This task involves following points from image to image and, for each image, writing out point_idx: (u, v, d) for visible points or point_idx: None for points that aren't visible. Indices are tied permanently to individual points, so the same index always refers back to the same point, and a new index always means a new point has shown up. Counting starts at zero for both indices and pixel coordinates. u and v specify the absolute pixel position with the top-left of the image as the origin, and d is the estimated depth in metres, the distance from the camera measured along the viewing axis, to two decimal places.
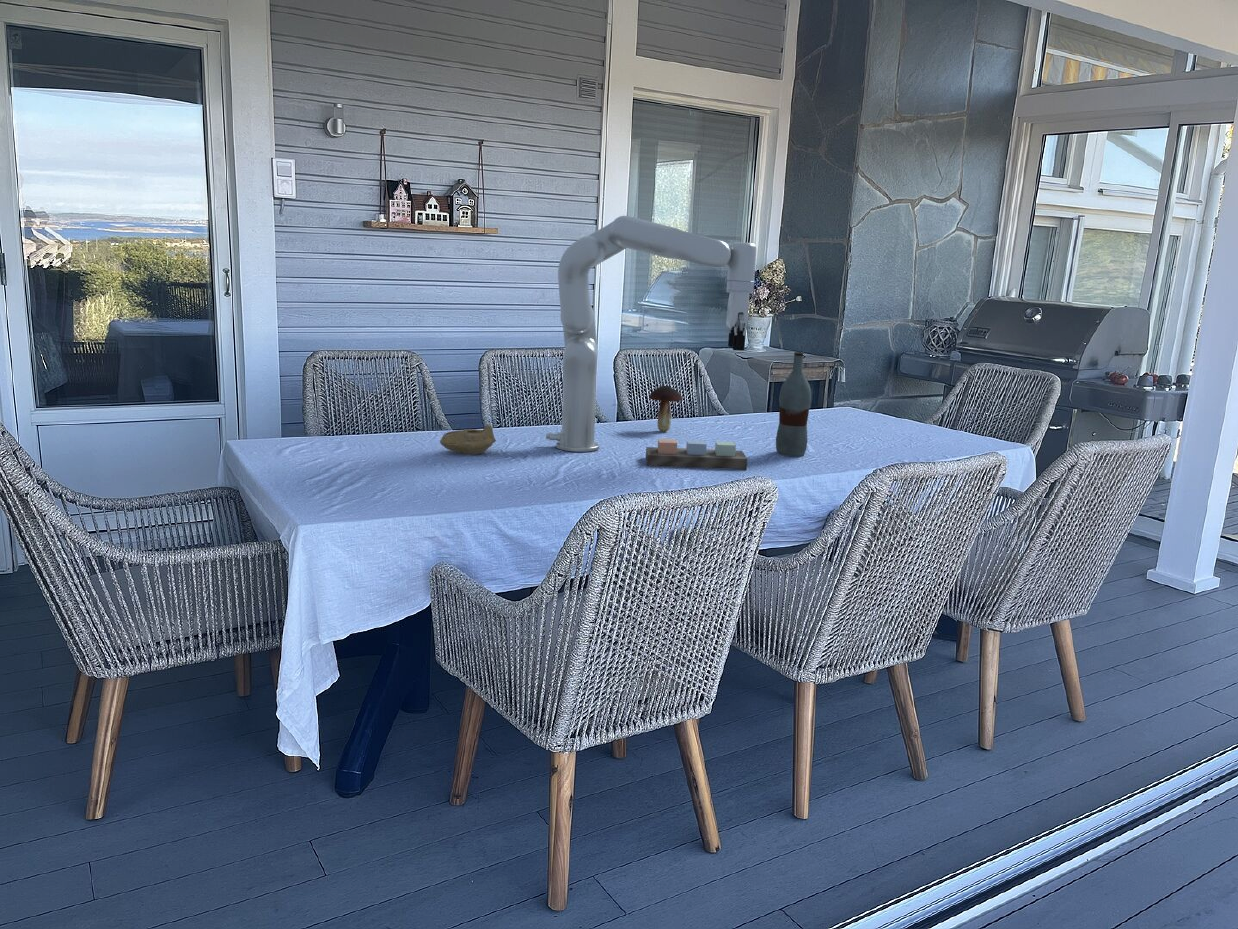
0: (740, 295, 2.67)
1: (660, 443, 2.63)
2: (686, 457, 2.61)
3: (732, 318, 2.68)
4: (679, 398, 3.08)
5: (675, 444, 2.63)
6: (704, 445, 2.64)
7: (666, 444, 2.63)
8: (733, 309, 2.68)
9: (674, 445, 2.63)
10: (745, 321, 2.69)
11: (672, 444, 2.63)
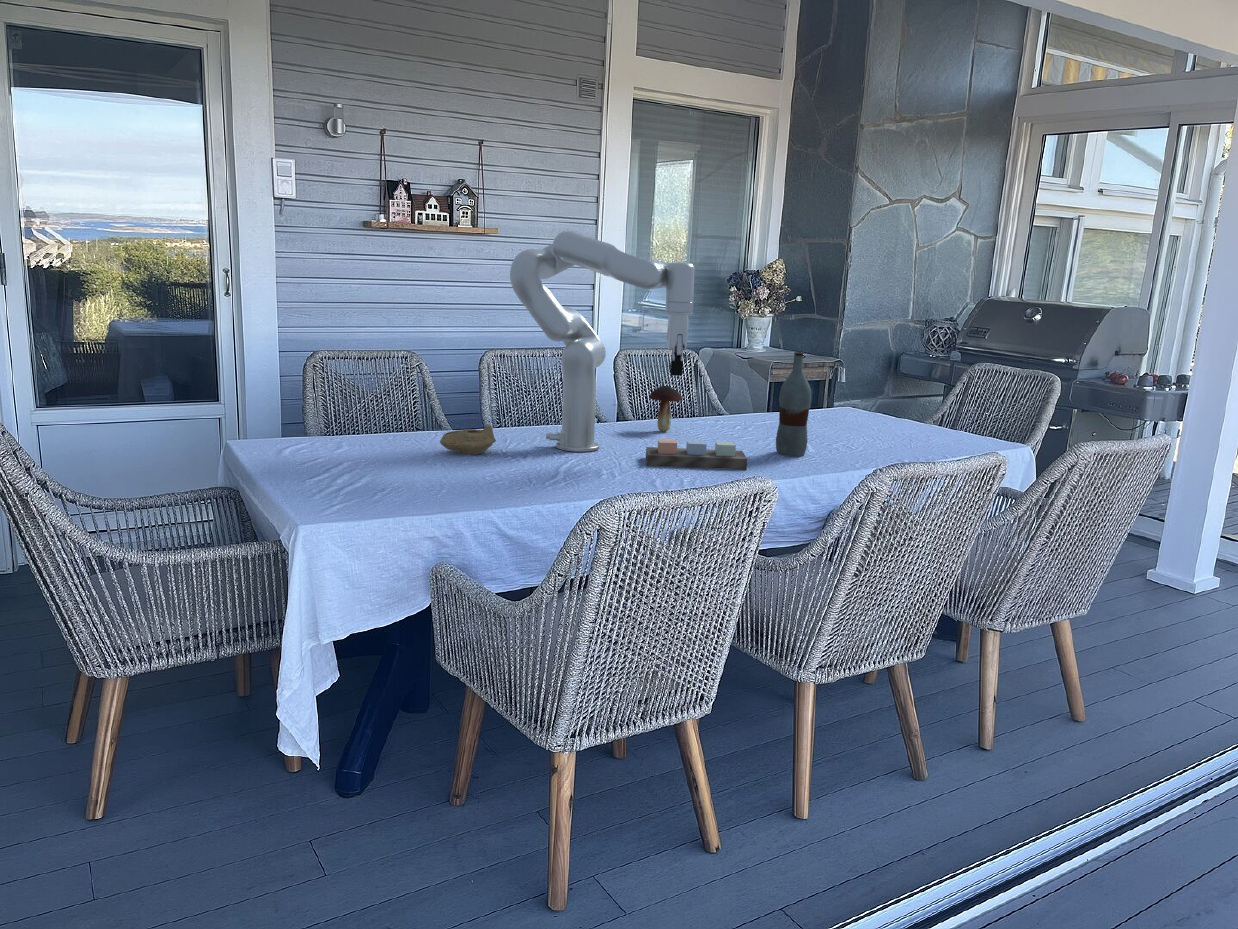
0: (679, 316, 2.61)
1: (660, 443, 2.63)
2: (686, 457, 2.61)
3: (671, 340, 2.62)
4: (679, 398, 3.08)
5: (675, 444, 2.63)
6: (704, 445, 2.64)
7: (666, 444, 2.63)
8: (672, 331, 2.61)
9: (674, 445, 2.63)
10: (684, 343, 2.62)
11: (672, 444, 2.63)
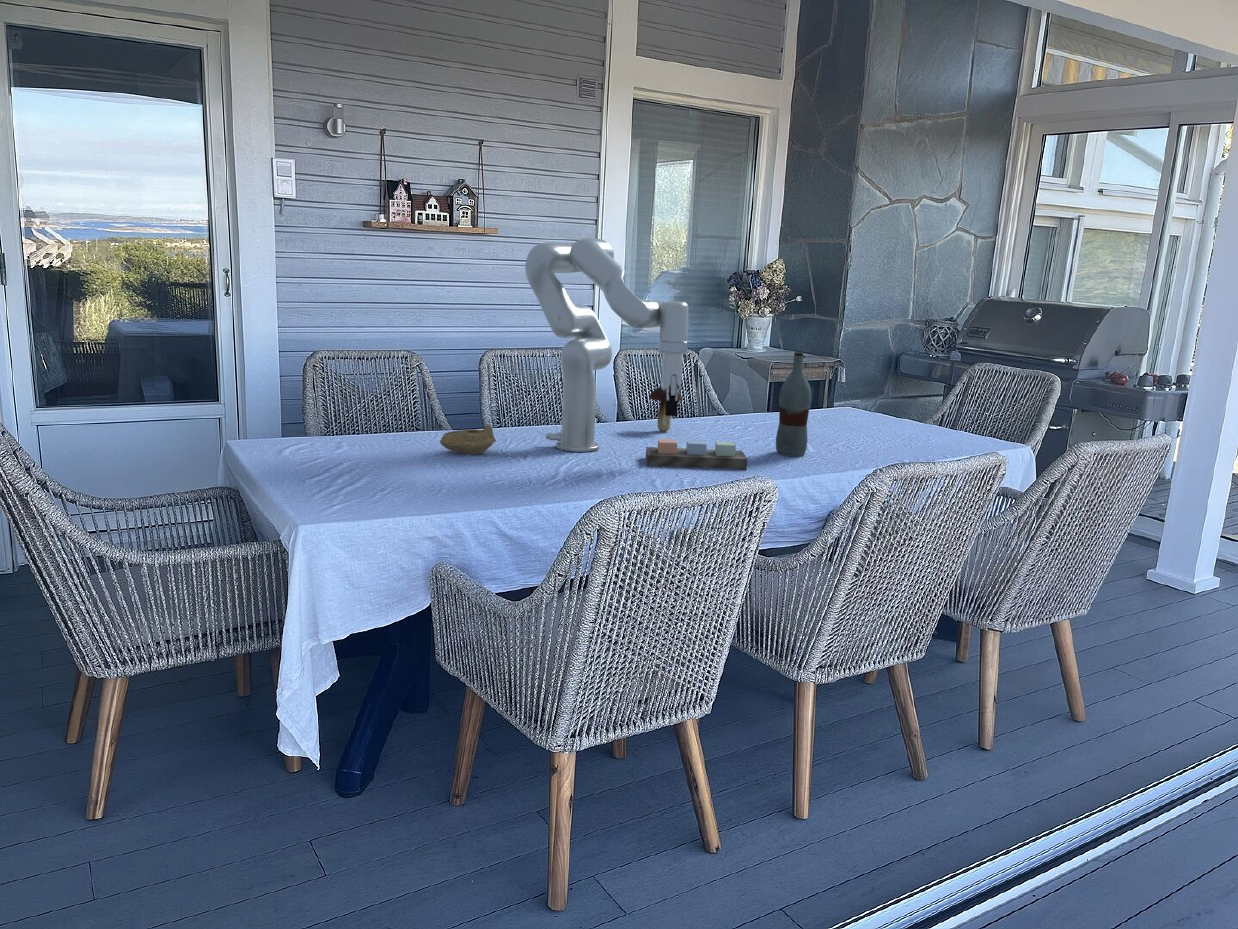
0: (673, 356, 2.56)
1: (660, 443, 2.63)
2: (686, 457, 2.61)
3: (665, 381, 2.57)
4: (679, 398, 3.08)
5: (675, 444, 2.63)
6: (704, 445, 2.64)
7: (666, 444, 2.63)
8: (665, 371, 2.57)
9: (674, 445, 2.63)
10: (678, 383, 2.57)
11: (672, 444, 2.63)
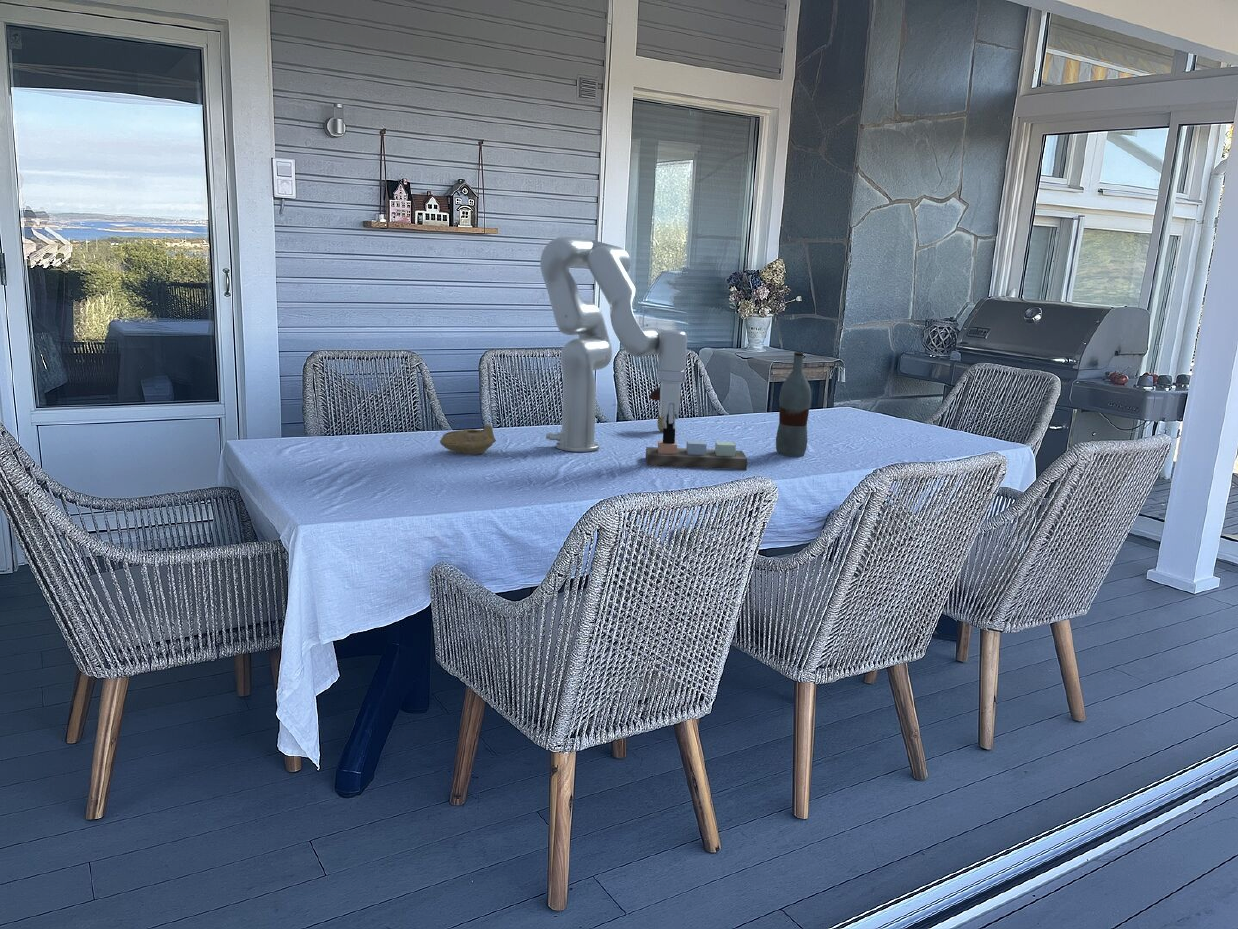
0: (671, 385, 2.58)
1: (660, 445, 2.63)
2: (686, 457, 2.61)
3: (663, 409, 2.59)
4: None
5: (675, 446, 2.63)
6: (704, 445, 2.64)
7: (666, 446, 2.63)
8: (663, 400, 2.58)
9: (674, 447, 2.64)
10: (676, 412, 2.59)
11: (672, 446, 2.63)
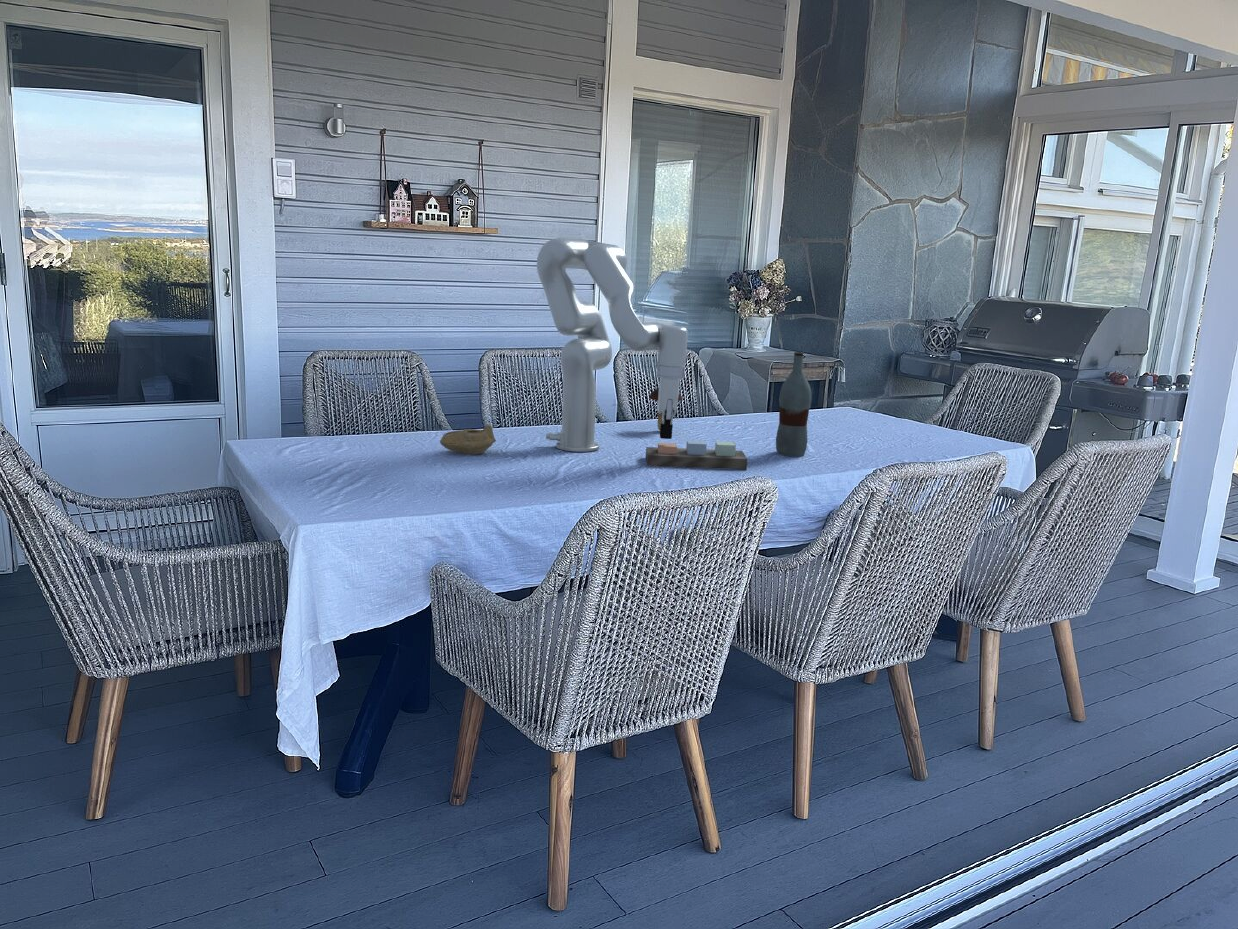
0: (670, 381, 2.58)
1: (660, 447, 2.63)
2: (686, 457, 2.61)
3: (661, 405, 2.59)
4: (679, 398, 3.08)
5: (675, 448, 2.64)
6: (704, 445, 2.64)
7: (666, 448, 2.64)
8: (662, 395, 2.58)
9: (674, 449, 2.64)
10: (674, 408, 2.59)
11: (672, 448, 2.64)
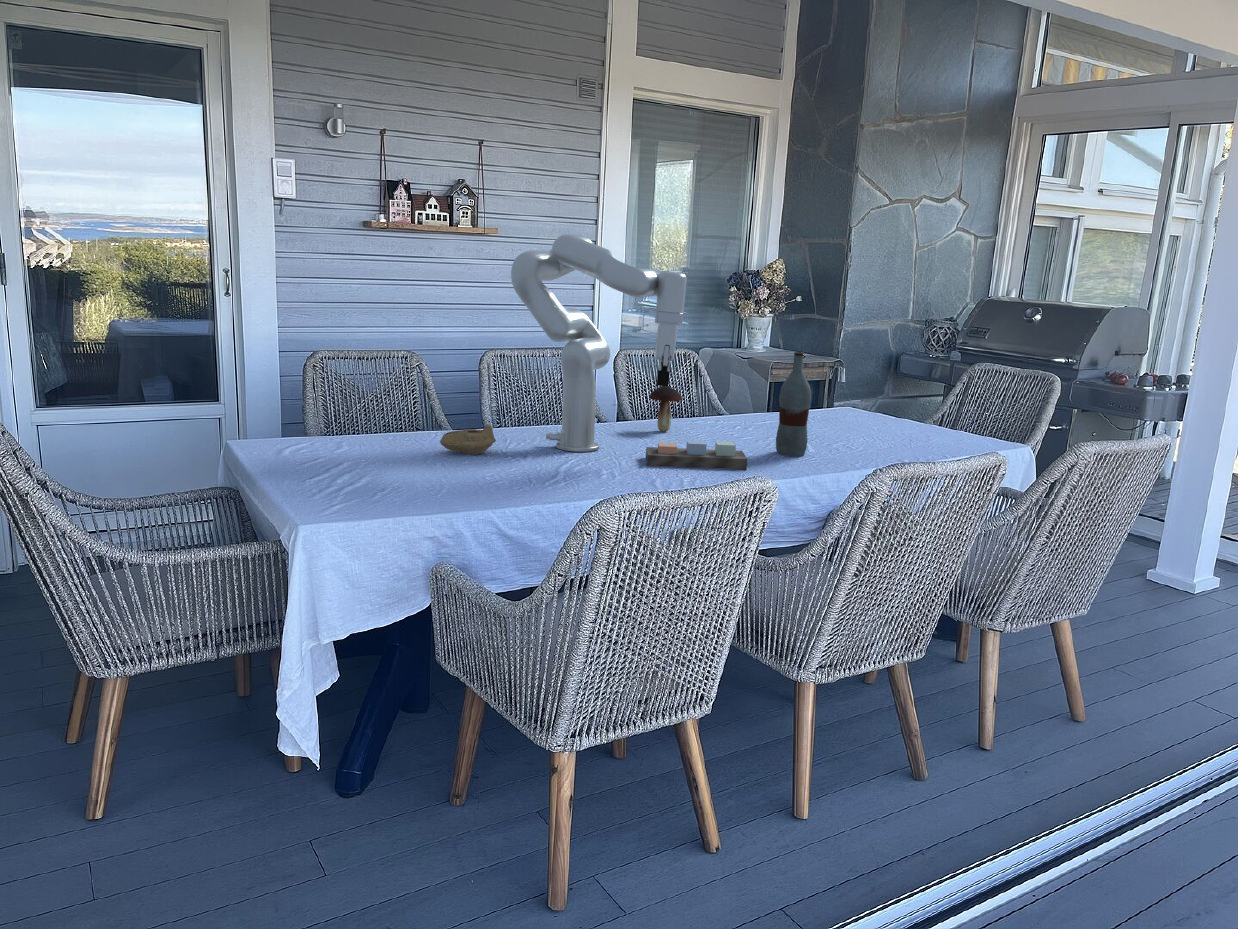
0: (667, 327, 2.58)
1: (660, 447, 2.63)
2: (686, 457, 2.61)
3: (658, 350, 2.59)
4: (679, 398, 3.08)
5: (675, 448, 2.64)
6: (704, 445, 2.64)
7: (666, 448, 2.64)
8: (659, 341, 2.58)
9: (674, 449, 2.64)
10: (671, 354, 2.59)
11: (672, 448, 2.64)
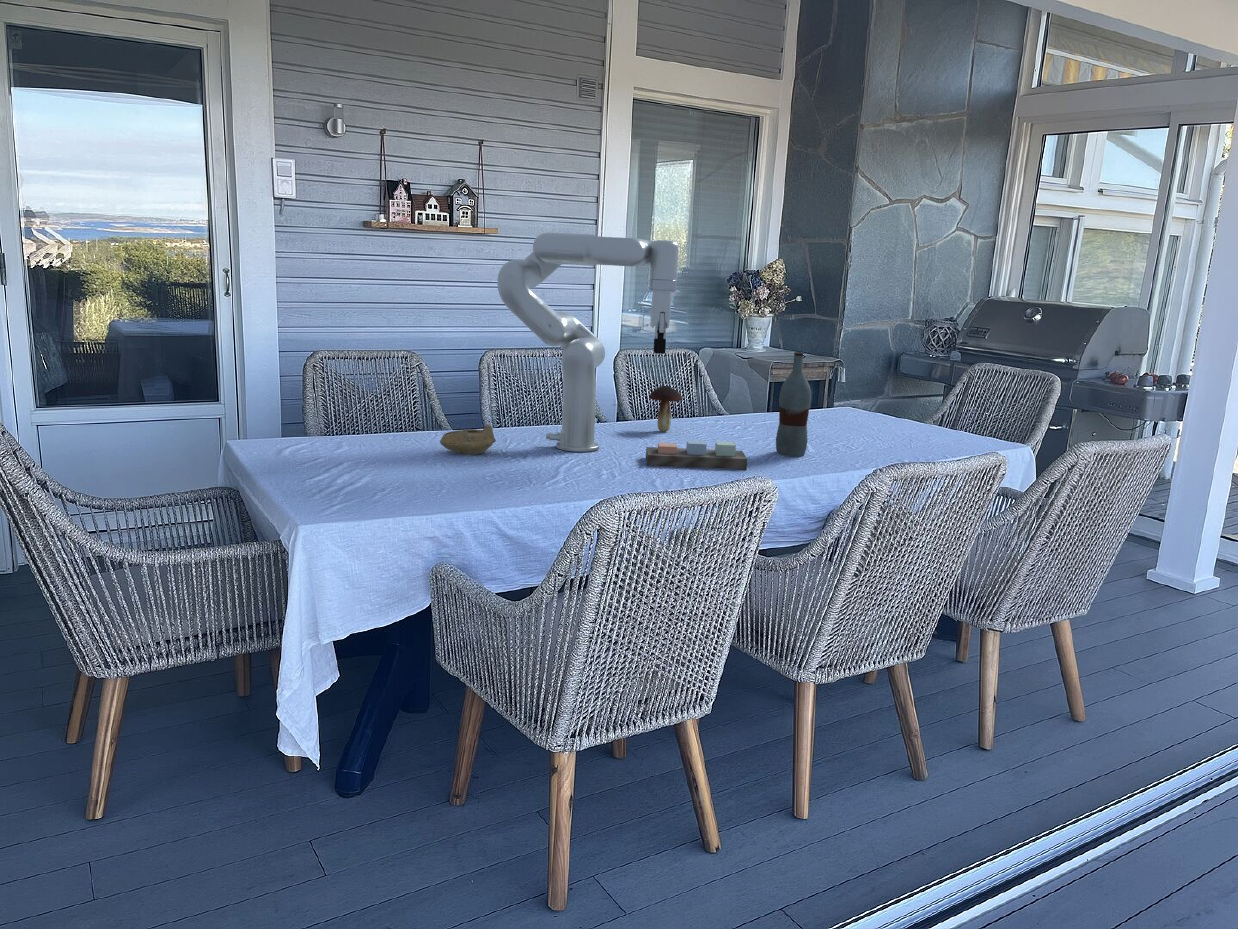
0: (662, 294, 2.61)
1: (660, 447, 2.63)
2: (686, 457, 2.61)
3: (653, 318, 2.62)
4: (679, 398, 3.08)
5: (675, 448, 2.64)
6: (704, 445, 2.64)
7: (666, 448, 2.64)
8: (654, 308, 2.62)
9: (674, 449, 2.64)
10: (667, 321, 2.63)
11: (672, 448, 2.64)
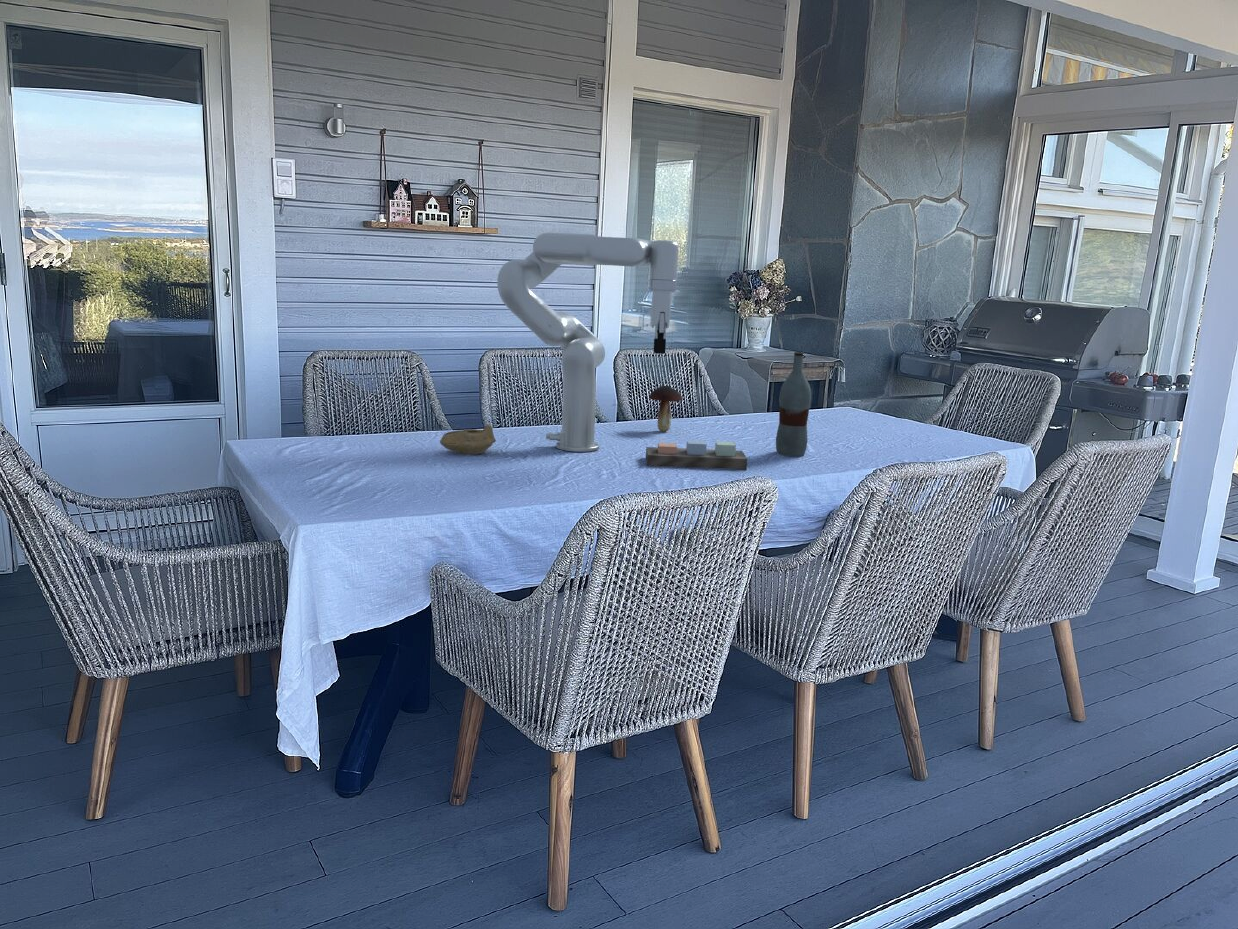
0: (662, 294, 2.61)
1: (660, 447, 2.63)
2: (686, 457, 2.61)
3: (653, 318, 2.62)
4: (679, 398, 3.08)
5: (675, 448, 2.64)
6: (704, 445, 2.64)
7: (666, 448, 2.64)
8: (654, 308, 2.62)
9: (674, 449, 2.64)
10: (667, 321, 2.63)
11: (672, 448, 2.64)
